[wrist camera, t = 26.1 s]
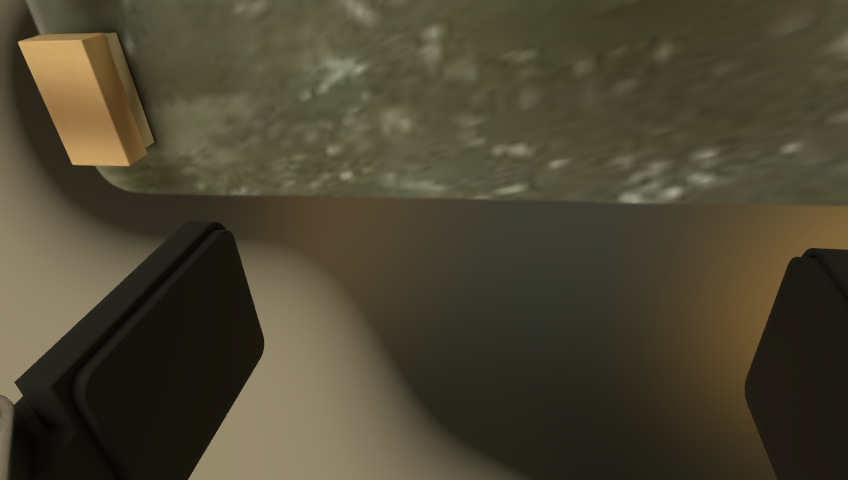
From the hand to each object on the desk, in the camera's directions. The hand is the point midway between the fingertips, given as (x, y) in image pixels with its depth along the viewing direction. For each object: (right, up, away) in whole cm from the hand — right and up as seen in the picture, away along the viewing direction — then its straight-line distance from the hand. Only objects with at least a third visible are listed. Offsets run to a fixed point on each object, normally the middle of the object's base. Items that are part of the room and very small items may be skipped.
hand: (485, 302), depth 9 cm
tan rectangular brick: (-22, +11, +27) cm, 37 cm away
